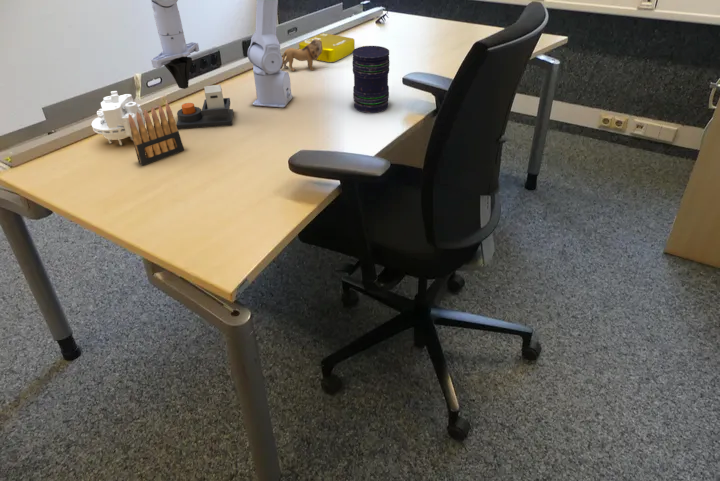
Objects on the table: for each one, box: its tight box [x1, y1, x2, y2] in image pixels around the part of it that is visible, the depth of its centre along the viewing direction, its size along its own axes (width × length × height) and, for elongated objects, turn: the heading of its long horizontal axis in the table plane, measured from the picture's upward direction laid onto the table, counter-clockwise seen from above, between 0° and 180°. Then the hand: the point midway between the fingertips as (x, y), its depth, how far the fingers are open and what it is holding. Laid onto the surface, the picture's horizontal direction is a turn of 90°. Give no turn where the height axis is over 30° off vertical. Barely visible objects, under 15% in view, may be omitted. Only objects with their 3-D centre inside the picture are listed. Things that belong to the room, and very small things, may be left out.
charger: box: [203, 84, 225, 109], centre depth 134 cm, size 4×5×6 cm
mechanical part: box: [91, 90, 146, 146], centre depth 125 cm, size 11×12×12 cm
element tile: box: [298, 32, 356, 63], centre depth 178 cm, size 15×15×5 cm
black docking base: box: [176, 106, 235, 130], centre depth 136 cm, size 14×8×3 cm, turn 98°
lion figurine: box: [280, 39, 323, 72], centre depth 165 cm, size 15×5×9 cm, turn 102°
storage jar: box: [351, 45, 390, 114], centre depth 139 cm, size 10×10×15 cm
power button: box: [181, 102, 196, 114], centre depth 135 cm, size 3×3×2 cm
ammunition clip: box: [128, 102, 185, 166], centre depth 118 cm, size 11×2×12 cm, turn 133°
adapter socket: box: [201, 97, 231, 116], centre depth 135 cm, size 7×7×2 cm
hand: (183, 87), depth 131 cm, fingers closed
